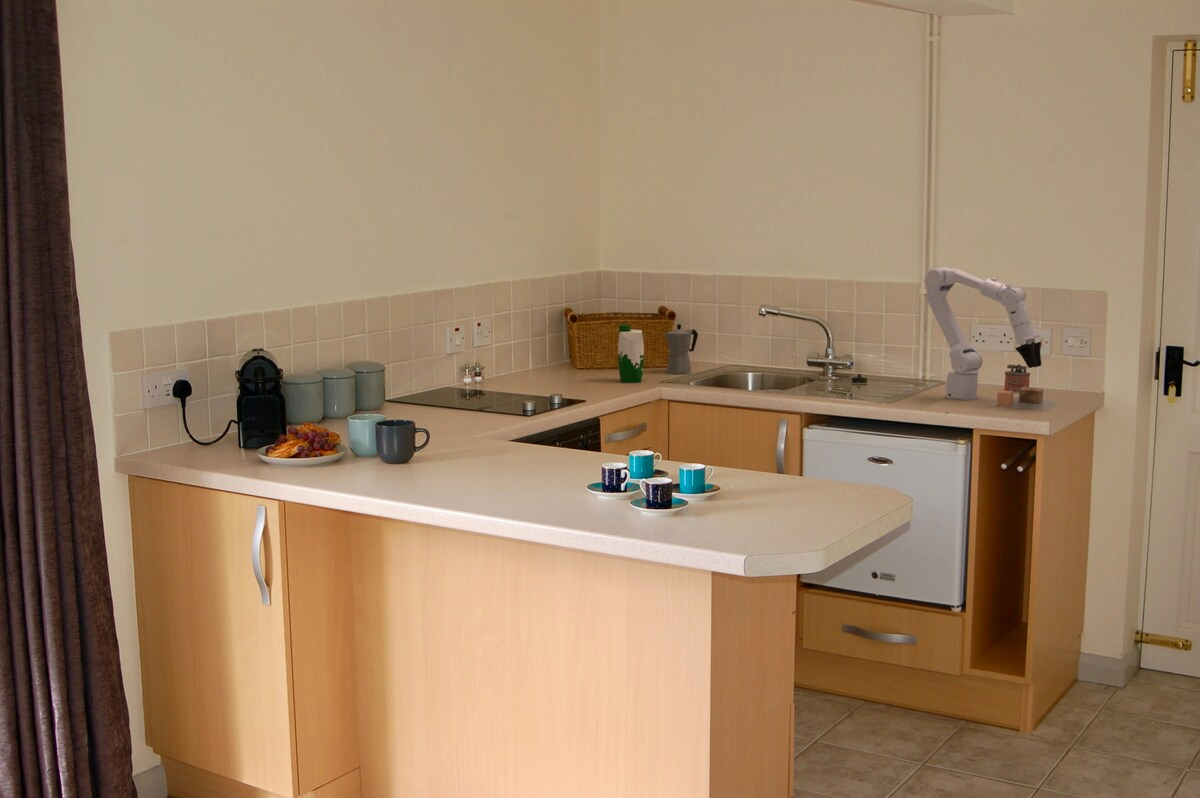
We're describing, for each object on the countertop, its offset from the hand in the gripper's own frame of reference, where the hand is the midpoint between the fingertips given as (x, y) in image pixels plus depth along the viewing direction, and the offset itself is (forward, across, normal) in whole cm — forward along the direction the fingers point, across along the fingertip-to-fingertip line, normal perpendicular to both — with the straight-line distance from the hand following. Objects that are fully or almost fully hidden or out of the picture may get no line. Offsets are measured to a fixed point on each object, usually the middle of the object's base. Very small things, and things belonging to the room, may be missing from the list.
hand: (1035, 366), depth 394 cm
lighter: (+6, +26, +14) cm, 30 cm away
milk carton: (-37, -10, +132) cm, 137 cm away
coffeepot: (-37, +16, +125) cm, 131 cm away
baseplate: (+11, +5, +8) cm, 14 cm away
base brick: (+10, +9, +6) cm, 15 cm away
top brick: (+8, 0, +12) cm, 15 cm away
